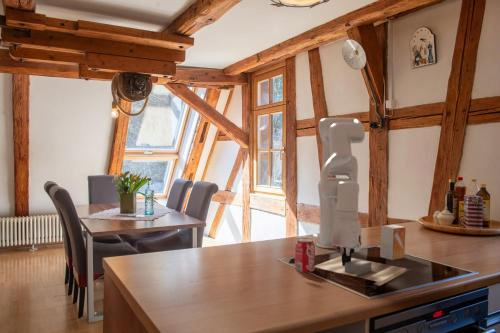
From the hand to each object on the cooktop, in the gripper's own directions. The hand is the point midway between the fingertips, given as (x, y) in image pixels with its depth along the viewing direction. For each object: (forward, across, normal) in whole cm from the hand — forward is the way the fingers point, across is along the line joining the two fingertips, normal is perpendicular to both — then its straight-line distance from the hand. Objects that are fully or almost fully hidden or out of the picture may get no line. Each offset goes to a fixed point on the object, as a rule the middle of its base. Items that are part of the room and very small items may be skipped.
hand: (346, 265), depth 149 cm
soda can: (+3, -10, -12) cm, 16 cm away
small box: (+3, +4, +32) cm, 32 cm away
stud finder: (+1, +5, 0) cm, 5 cm away
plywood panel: (+2, +3, +4) cm, 6 cm away
